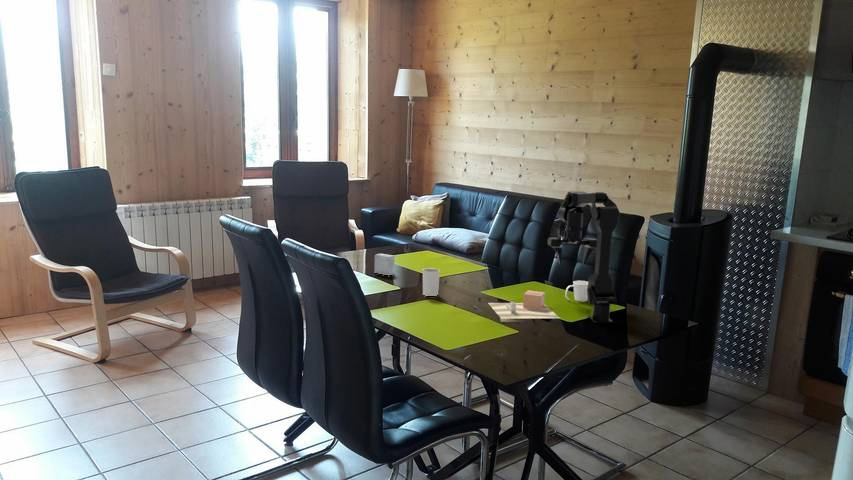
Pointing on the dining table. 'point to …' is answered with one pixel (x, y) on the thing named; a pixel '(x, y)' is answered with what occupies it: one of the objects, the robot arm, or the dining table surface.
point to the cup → (579, 290)
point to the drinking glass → (430, 281)
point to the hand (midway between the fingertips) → (571, 264)
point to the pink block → (534, 299)
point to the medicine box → (384, 264)
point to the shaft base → (520, 312)
